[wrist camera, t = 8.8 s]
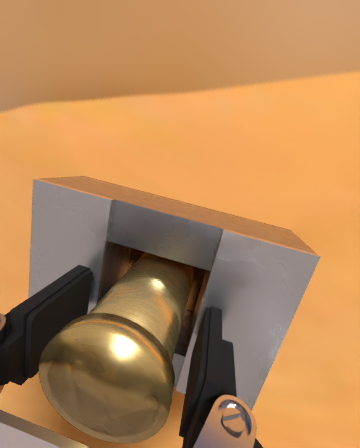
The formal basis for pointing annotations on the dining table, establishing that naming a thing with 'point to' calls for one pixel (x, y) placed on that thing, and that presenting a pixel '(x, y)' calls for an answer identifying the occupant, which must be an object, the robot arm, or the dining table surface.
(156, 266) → the brass capped cylinder
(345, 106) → the dining table surface
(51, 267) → the jig
